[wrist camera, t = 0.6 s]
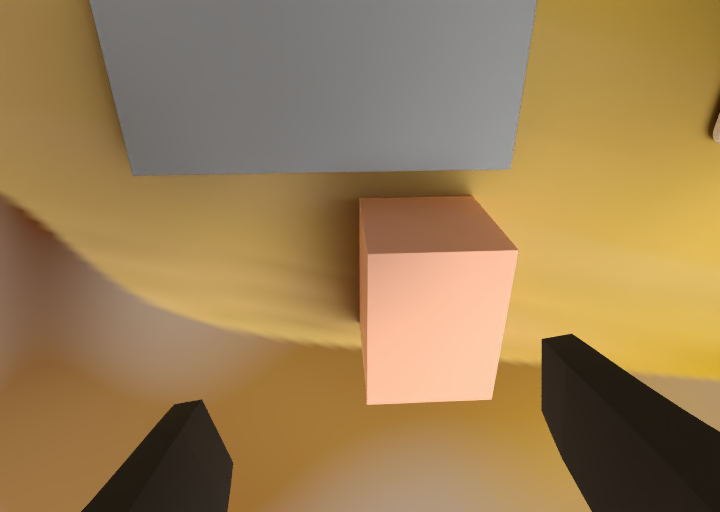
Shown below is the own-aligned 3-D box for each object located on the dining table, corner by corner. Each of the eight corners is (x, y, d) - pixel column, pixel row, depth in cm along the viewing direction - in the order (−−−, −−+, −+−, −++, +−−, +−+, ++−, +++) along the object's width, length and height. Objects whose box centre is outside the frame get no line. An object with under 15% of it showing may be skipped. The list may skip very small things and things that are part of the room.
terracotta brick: (471, 194, 17) (518, 250, 13) (456, 318, 20) (491, 399, 16) (358, 197, 17) (367, 254, 13) (359, 321, 20) (367, 404, 16)
